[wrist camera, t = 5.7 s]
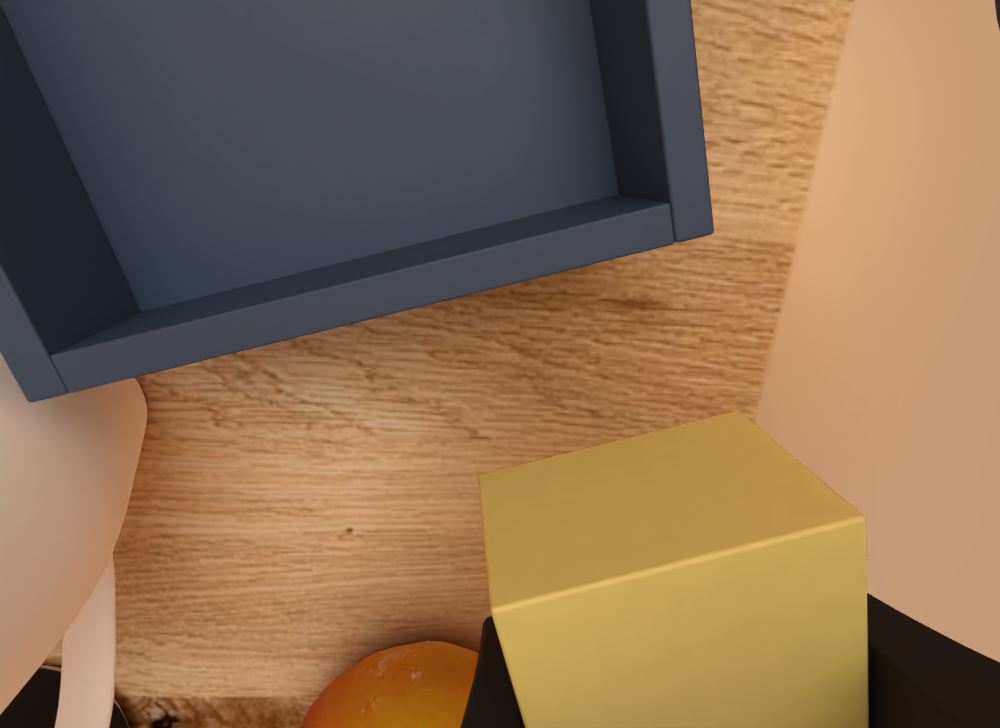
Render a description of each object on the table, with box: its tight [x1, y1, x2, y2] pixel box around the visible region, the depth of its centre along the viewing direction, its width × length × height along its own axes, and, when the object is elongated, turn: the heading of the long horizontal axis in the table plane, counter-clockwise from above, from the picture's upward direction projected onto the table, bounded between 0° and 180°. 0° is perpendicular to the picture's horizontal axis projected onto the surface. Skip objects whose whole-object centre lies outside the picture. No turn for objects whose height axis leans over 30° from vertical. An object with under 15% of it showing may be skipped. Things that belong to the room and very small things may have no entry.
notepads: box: [478, 411, 869, 728], centre depth 10 cm, size 5×8×4 cm, turn 13°
